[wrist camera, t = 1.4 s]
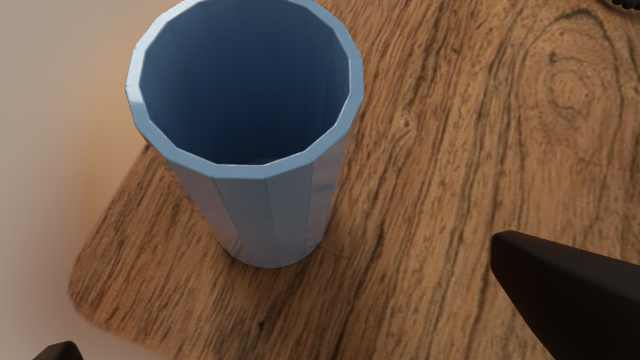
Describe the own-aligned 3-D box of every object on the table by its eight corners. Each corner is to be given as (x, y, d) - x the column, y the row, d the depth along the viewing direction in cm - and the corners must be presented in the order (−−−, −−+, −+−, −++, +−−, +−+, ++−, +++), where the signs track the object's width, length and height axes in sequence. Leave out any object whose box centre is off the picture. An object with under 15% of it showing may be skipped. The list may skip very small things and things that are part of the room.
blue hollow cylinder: (330, 269, 21) (368, 182, 10) (205, 267, 21) (103, 175, 10) (329, 157, 24) (359, -11, 13) (217, 155, 23) (147, -21, 12)
